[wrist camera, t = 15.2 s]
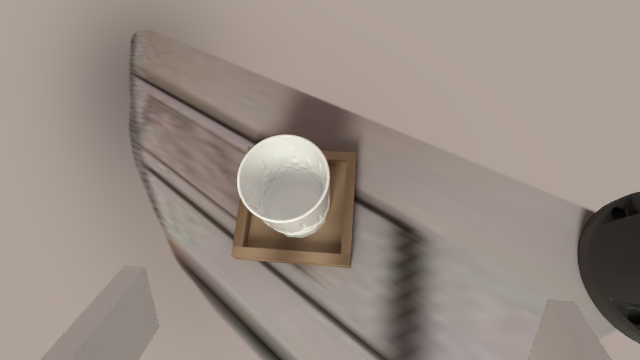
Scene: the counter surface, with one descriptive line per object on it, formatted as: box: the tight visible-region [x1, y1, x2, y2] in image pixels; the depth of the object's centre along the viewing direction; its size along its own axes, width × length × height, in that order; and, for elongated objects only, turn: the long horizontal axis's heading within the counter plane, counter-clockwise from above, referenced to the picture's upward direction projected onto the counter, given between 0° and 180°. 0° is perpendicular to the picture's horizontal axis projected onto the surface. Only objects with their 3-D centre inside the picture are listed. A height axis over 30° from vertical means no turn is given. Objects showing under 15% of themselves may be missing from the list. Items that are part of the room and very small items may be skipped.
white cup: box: [237, 134, 331, 238], centre depth 38 cm, size 8×8×10 cm
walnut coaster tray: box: [231, 147, 357, 268], centre depth 42 cm, size 12×12×2 cm
